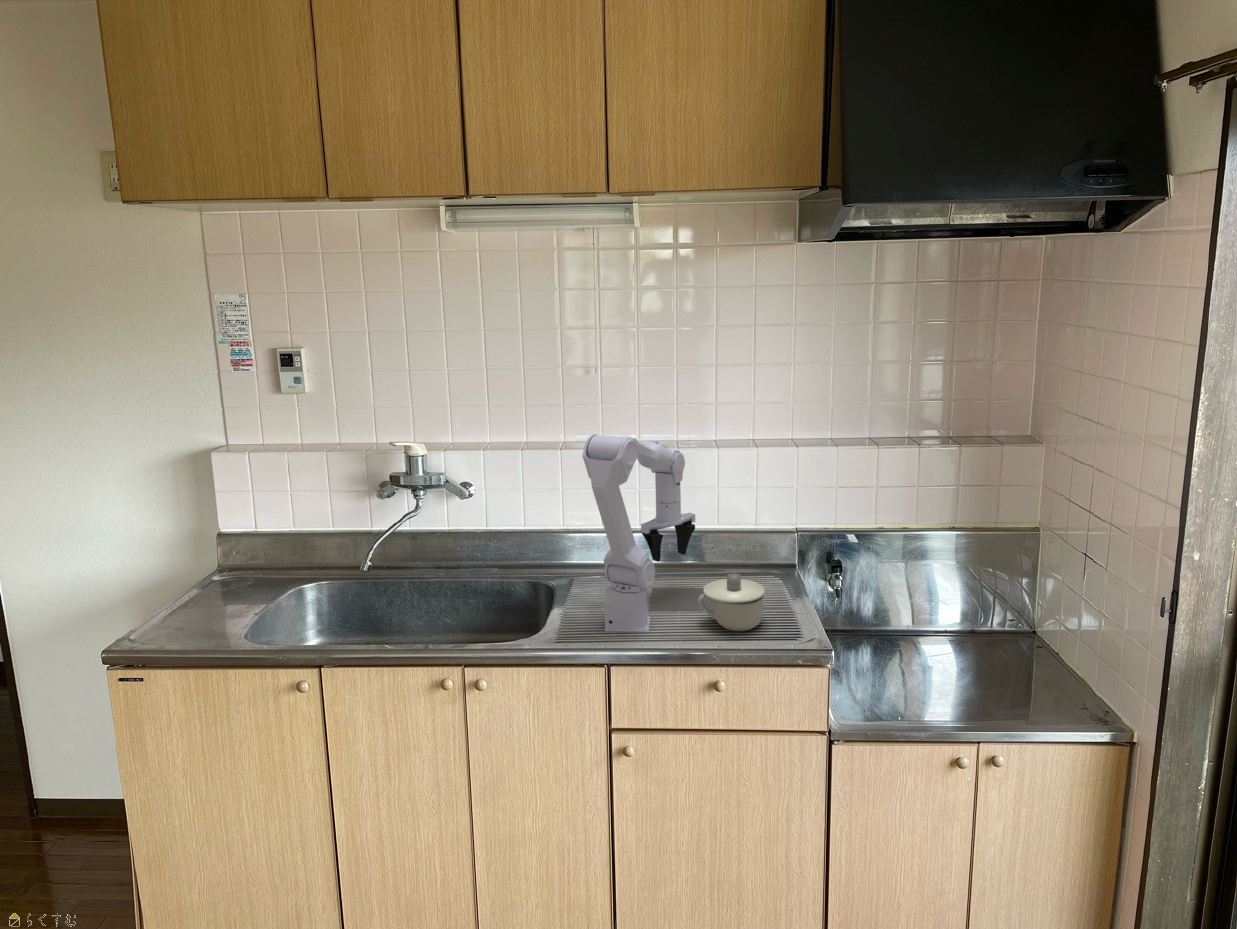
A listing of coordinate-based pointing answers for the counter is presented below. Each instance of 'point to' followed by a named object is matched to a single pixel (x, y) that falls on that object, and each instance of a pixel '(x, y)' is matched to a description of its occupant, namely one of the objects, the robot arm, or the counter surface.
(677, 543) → the robot arm
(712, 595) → the lid
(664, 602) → the mat
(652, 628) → the counter surface
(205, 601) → the counter surface
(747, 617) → the teacup
